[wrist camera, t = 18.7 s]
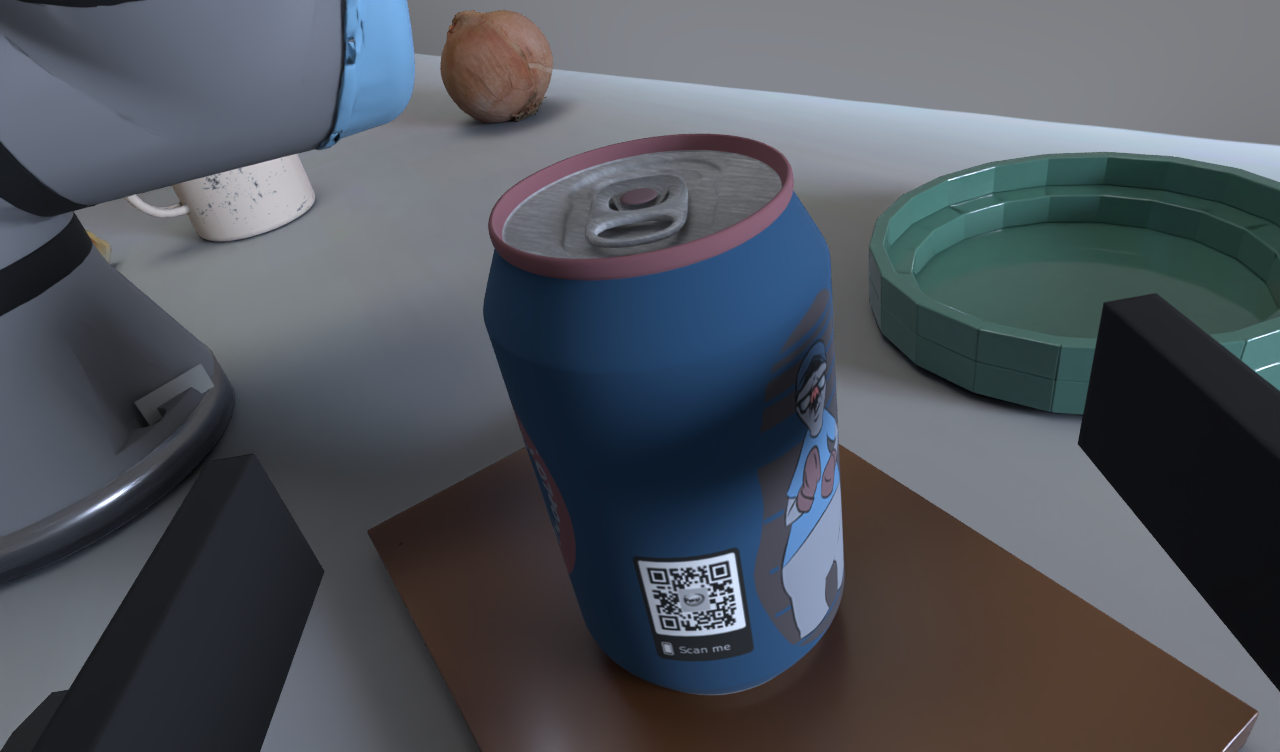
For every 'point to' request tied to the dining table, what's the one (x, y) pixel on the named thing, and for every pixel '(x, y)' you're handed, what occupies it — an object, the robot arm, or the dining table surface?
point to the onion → (496, 65)
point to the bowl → (1072, 266)
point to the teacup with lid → (240, 200)
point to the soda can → (678, 400)
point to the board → (822, 679)
